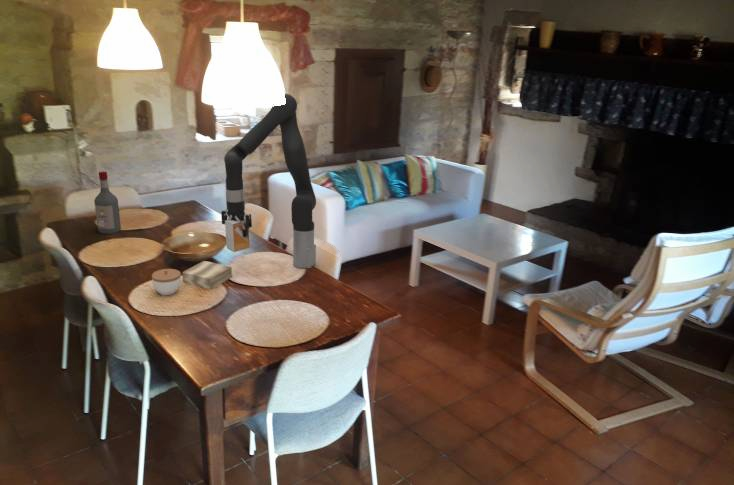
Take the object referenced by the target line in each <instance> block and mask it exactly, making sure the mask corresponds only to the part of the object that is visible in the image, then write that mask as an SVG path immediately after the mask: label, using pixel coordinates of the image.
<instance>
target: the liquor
mask: <svg viewBox="0 0 734 485" xmlns="http://www.w3.org/2000/svg"><path fill="white" fill-rule="evenodd" d="M98 178H99V187H100V190H99V191H100V192H99V193H98V194H97V196H95V198H94V200H93V201H94V202H93V203H94V210H95V216H96V217H95V218H96V224H97V231H98V232H99V233H100V234H106V235H111V234H116V233H118V232H120V231H121V229H122V226H121V217H120V209H119V208H120V207H119V200H118V197H117V196H116V195H114V194H113V193H112V192H111V191H110V189H109V180H108V172H107V171H98Z"/></svg>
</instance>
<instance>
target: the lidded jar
mask: <svg viewBox="0 0 734 485" xmlns="http://www.w3.org/2000/svg"><path fill="white" fill-rule="evenodd" d="M181 276H182V273H181V272H180V271H179V270H178V269H174V268H164V269H158V270H156V271H154V272H153V273H152V274H151V280H152V285H153V288H154V290H155V291H156V292H158V293H159V294H160V295H162V296H170V295H174V294H175V293H176V292H177V291H178V289H179V288H180V285H181V280H182V279H181Z"/></svg>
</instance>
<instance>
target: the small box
mask: <svg viewBox="0 0 734 485" xmlns="http://www.w3.org/2000/svg"><path fill="white" fill-rule="evenodd" d="M245 220H246V219H245ZM241 222H244V220H242V221H241ZM245 222H246V221H245ZM224 226H225V241H226V242H225V243H226V249H227V250H229V251H231V252H233V253H236V252H240V251H243V250H247V249H250V228H248V236H247V237H243V228H242V226H241V225H240V223H239V222H238V221H233V220H230V221H229V220H228V219H227V220H225V224H224ZM244 226H245V223H244Z"/></svg>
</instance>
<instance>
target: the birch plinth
mask: <svg viewBox="0 0 734 485" xmlns="http://www.w3.org/2000/svg"><path fill="white" fill-rule="evenodd" d="M232 271H233V269H232V266H230V265H226V264H221V263H215V262H211V261H206V260H203V261H201V262H199V263H197V264H195V265H193V266H192V267H190V268H187V269H186V270H184V271H182V273H181V274H182V283H183V282H184V283H183V284H187V283H188V284H187V285H191V286H195V287H200V288H203V289H208V290H213V289H214V288H216V287H217V286H219V285H221V284H223V283H225V282H227V281H228V280H230V279H231V278H233V272H232Z"/></svg>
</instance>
